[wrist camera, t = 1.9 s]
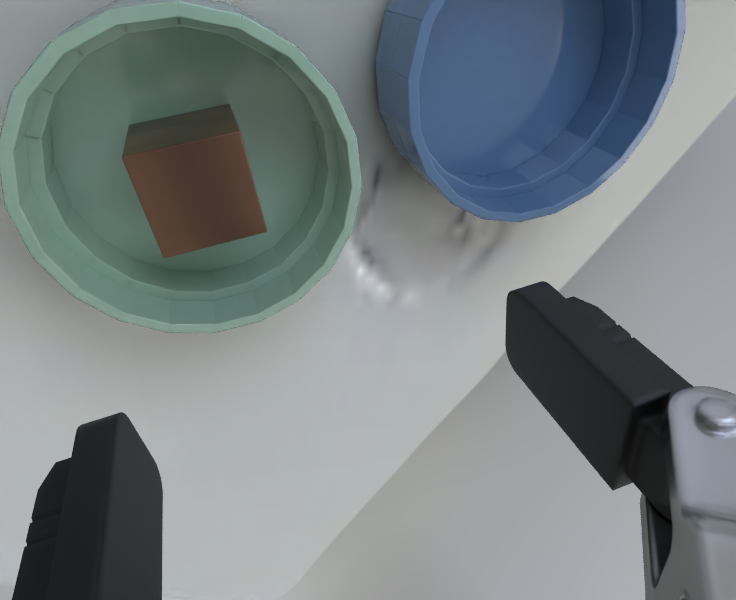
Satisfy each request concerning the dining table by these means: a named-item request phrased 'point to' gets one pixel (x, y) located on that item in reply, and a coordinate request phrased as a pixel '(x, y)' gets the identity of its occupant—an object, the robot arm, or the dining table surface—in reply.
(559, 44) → the blue bowl
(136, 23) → the celadon bowl
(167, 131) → the walnut block
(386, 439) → the dining table surface
